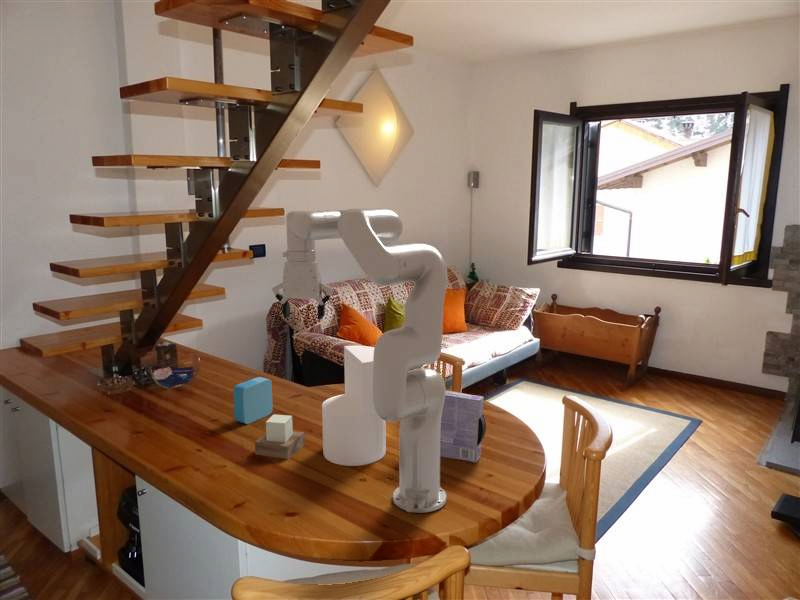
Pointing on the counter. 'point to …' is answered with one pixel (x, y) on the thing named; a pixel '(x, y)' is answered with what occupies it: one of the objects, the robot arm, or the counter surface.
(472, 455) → the cake pan box
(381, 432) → the white bottle-shaped block
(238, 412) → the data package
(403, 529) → the counter surface
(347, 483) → the counter surface
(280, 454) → the pinkish brown square block
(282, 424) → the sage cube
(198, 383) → the counter surface
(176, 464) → the counter surface
